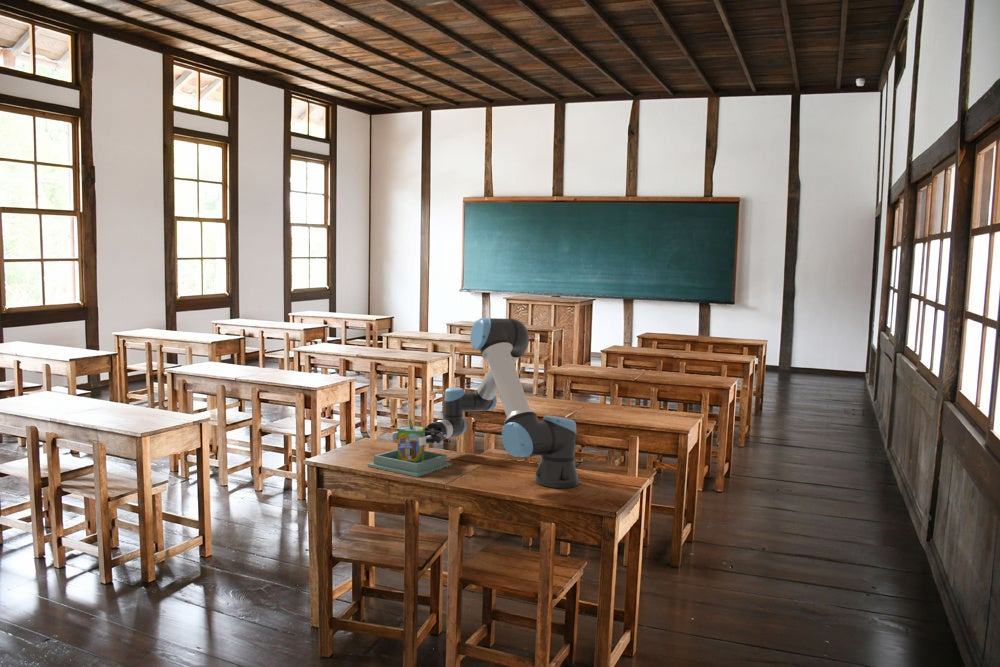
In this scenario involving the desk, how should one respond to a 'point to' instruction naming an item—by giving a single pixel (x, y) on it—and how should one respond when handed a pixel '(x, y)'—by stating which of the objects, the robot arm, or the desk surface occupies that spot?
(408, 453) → the chalk box
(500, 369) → the robot arm
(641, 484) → the desk surface
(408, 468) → the chalk holder
